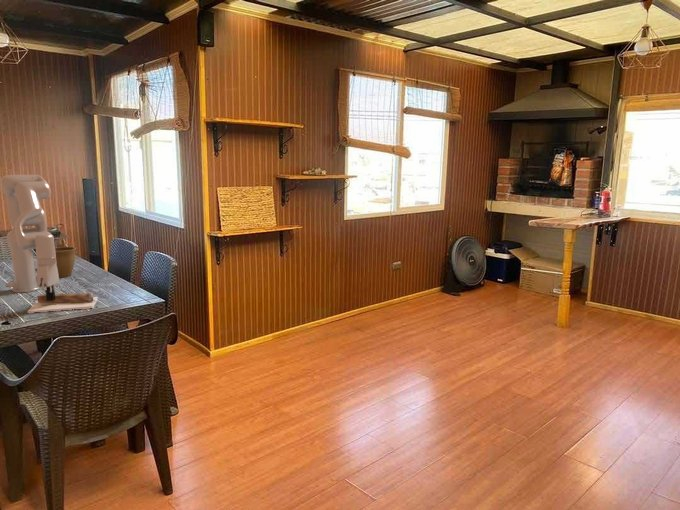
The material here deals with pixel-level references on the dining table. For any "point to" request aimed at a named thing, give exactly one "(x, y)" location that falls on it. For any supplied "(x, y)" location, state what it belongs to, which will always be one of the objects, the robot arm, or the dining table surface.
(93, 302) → the label plate
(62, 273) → the plant pot
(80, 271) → the dining table surface
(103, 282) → the dining table surface
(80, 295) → the bar
